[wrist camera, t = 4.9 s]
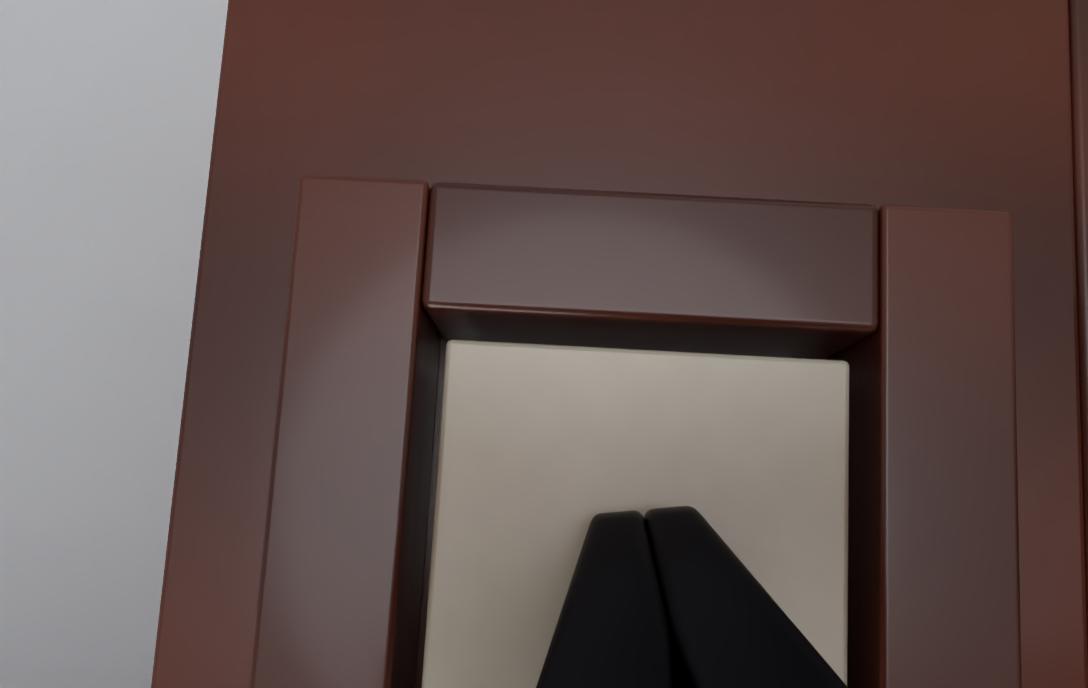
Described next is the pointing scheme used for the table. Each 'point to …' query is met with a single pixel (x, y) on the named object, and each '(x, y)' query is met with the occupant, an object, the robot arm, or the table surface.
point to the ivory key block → (632, 299)
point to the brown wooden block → (1081, 225)
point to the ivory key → (626, 486)
